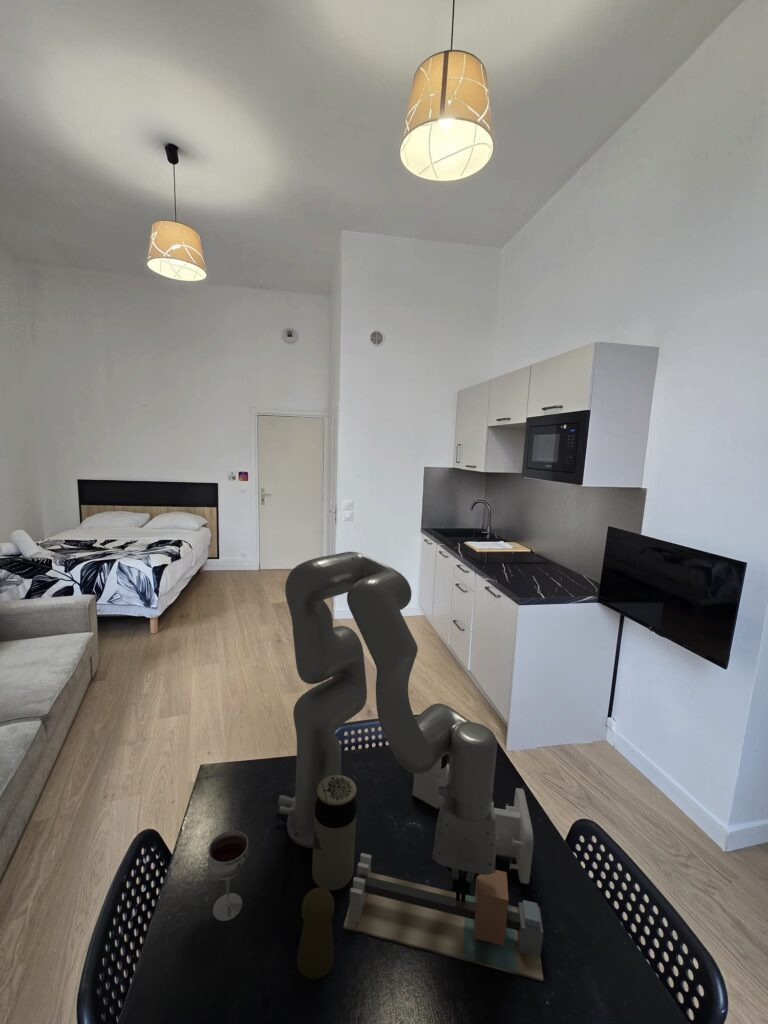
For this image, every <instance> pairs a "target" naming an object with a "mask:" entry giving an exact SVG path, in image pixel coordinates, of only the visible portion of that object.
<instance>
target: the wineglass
mask: <svg viewBox="0 0 768 1024" xmlns="http://www.w3.org/2000/svg"><path fill="white" fill-rule="evenodd" d="M248 847H249V838H248V836H247V835H246V834H245V833H243V832H242V831H239V830H228V831H224V832H222V833H220V834H218V835H217V836H215V838H213V839H212V841H211V842H210V844H209V847H208V858H207V867H208V870H209V872H210V874H211V875H212V876H213V877H214V878H215V879H218V880H220V881H225V887H226V888H225V891H226V893H225V894H223V895H221V896H220V897H219V898H217V900H216V901H215V903H214V904H213V907H212V914H213V917H214V918H215V919H216V920H218V921H221V922H222V921H223V922H225V921H230V920H232V919H234V918H235V917H236V916H237V915H238V914H239V913H240V912H241V910H242V906H243V900H242V897H241V896H240V895H239V894H238V893H234V892H231V893H230V891H231V889H230V888H231V880H232V879H233V878H235V877H236V876H238V875H240V873H241V872H243V870H244V869H245V867H246V865H247V863H248V859H249V855H250V854H249V848H248Z"/></svg>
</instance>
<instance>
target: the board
mask: <svg viewBox="0 0 768 1024" xmlns="http://www.w3.org/2000/svg"><path fill="white" fill-rule="evenodd" d="M370 877H371V878H375V879H379V880H383V881H387V882H392V883H396V884H400V885H404V886H408V887H412V888H416V889H421V890H425V891H429V892H433V893H437V894H441V895H445V896H450V897H454V898H456V892H455V891H449V890H446V889H442V888H438V887H434V886H433V887H432V886H430V885H429V886H428V885H425V884H420V883H416V882H413V881H412V882H411V881H407V880H403V879H399V878H396V877H395V878H394V877H391V876H388V875H387V876H386V875H383V874H379V873H374V872H371V876H370ZM460 899H461V894H460ZM474 899H475V896H472V895H468V894H466V897H465V900H466V901H470V902H474ZM508 911H512V912H516V913H518V906H512V905H510V904H508ZM348 916H349V907H348V909H347V913H346V917H345V919H344V923H343V929H345V930H348V931H353V932H356V933H361V934H362V935H363V934H364V935H367V936H371V937H375V938H379V939H382V940H387V941H389V942H395V943H397V944H400V945H401V944H402V945H405V946H409V947H413V948H416V949H420V950H424V951H428V952H432V953H435V954H439V955H443V956H446V957H450V958H453V959H458V960H462V961H465V962H469V963H473V964H477V965H481V966H483V967H487V968H492V969H495V970H499V971H503V972H506V973H509V974H514V975H518V976H522V977H525V978H527V979H528V978H530V979H533V980H536V981H541V982H544V973H543V966H542V958H541V957H539V956H535V955H531V954H527V953H523V952H519V950H518V938H517V930H514V929H510V928H506V930H505V940H504V946H503V945H499V944H495V943H491V942H487V941H483V940H479V939H476V938H473V935H474V919H470V918H466V917H462V916H458V915H453V914H449V913H445V912H441V911H437V910H433V909H429V908H425V907H421V906H417V905H413V904H409V903H405V902H401V901H397V900H393V899H389V898H385V897H381V896H377V895H373V894H369V893H367V894H366V898H365V902H364V906H363V910H362V914H361V918H360V922H356V921H352V920H349V919H348Z"/></svg>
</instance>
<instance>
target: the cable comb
mask: <svg viewBox="0 0 768 1024" xmlns="http://www.w3.org/2000/svg"><path fill="white" fill-rule="evenodd" d="M371 873H372V854H367V853H364V852H361V853H360V860H359V862H358V864H357V869H356V876H354V877H353V882H352V887H351V888H350V890H349V905H348V908H349V916H348V919H349V920H352V921H356V922H360V918H361V914H362V910H363V906H364V902H365V898H366V894H367V893H365V892H364V891H365V879H361V878H359V875H363V876H367V877H370V876H371Z"/></svg>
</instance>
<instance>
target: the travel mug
mask: <svg viewBox="0 0 768 1024" xmlns="http://www.w3.org/2000/svg"><path fill="white" fill-rule="evenodd" d="M317 794H318V798H317V800H316V802H315V818H314V841H313V848H312V863H311V864H312V865H311V866H312V867H311V876H312V878H313V881H314V882H315V884H316V885H317V886H318V888H319V887H320V888H325V889H327V890H328V891H337V890H340V889H342V888H344V887H346V886H347V885H348V884H349V883H350V881H351V879H353V878H352V877H353V875H354V862H355V861H354V860H355V847H356V845H355V843H356V829H357V827H356V826H357V809H358V808H357V807H358V801H357V799H356V794H357V786H356V783H355V782H354V780H352V779H351V778H350V777H348V776H345V775H341V774H340V775H333V776H329V777H327V778H325V779H323V780H322V781H321V782H320V783H319V785H318V787H317Z"/></svg>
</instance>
